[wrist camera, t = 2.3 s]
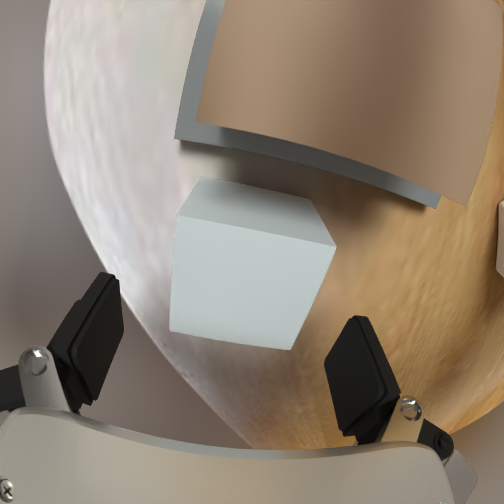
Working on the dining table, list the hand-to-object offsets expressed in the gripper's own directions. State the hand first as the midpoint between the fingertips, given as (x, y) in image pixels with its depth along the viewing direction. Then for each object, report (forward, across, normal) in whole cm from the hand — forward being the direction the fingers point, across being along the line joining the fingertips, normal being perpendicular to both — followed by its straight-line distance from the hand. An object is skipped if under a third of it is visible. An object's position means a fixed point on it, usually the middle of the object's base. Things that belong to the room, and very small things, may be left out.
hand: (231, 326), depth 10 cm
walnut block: (+5, -2, -12) cm, 13 cm away
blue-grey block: (+7, 0, -1) cm, 7 cm away
